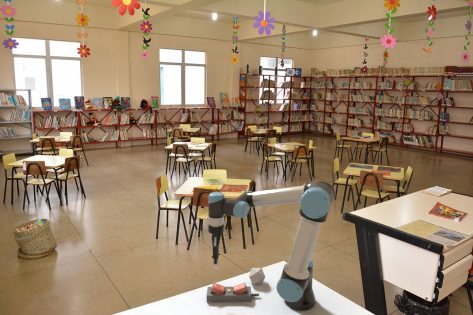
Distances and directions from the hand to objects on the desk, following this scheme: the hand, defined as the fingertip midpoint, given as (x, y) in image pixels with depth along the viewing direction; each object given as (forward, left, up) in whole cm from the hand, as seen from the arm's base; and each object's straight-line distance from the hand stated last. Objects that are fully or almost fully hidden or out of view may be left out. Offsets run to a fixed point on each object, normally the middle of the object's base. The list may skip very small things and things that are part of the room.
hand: (215, 268), depth 184 cm
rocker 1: (-1, 0, -12) cm, 12 cm away
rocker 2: (-11, -6, -12) cm, 17 cm away
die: (-12, -22, -16) cm, 29 cm away
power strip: (-8, -4, -15) cm, 18 cm away
